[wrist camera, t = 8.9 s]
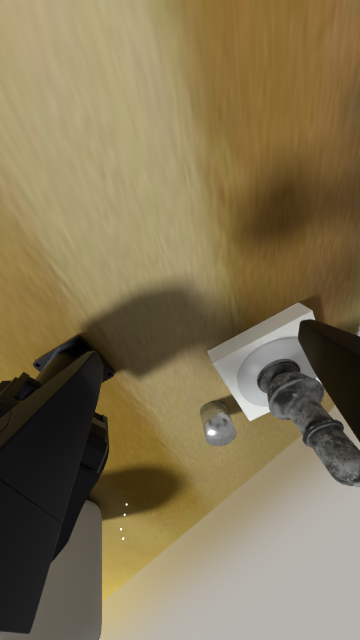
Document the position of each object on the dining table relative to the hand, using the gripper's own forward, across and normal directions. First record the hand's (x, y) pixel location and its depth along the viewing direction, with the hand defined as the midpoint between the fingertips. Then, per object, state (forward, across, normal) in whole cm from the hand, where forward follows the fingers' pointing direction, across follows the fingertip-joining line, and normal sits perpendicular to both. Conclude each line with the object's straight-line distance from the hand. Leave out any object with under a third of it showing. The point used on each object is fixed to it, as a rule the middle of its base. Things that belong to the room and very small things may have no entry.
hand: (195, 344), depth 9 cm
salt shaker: (+10, -9, +15) cm, 20 cm away
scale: (+13, -8, +15) cm, 22 cm away
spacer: (+12, 0, +22) cm, 25 cm away
